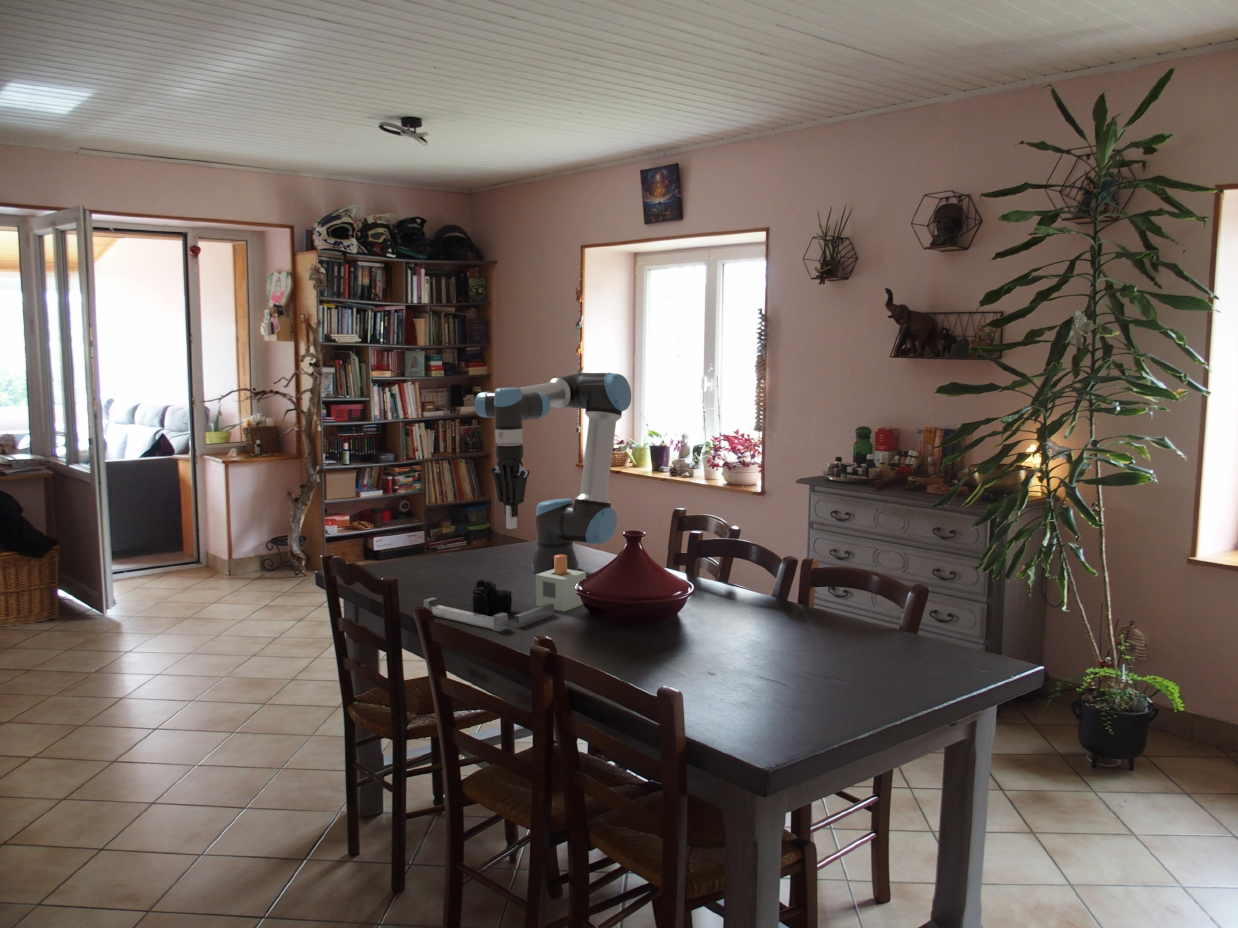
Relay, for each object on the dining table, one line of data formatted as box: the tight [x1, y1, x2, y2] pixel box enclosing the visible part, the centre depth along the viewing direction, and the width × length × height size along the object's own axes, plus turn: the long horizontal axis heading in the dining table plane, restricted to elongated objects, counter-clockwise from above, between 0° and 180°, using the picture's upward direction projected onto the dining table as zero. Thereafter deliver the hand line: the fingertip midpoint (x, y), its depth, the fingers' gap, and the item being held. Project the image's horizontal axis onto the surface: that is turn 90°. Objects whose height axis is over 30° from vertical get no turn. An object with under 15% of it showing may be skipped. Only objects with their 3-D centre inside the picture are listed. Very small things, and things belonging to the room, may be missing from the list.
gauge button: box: [554, 555, 567, 576], centre depth 265 cm, size 4×4×6 cm
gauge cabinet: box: [535, 569, 587, 612], centre depth 266 cm, size 10×10×9 cm
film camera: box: [471, 579, 513, 616], centre depth 259 cm, size 15×10×9 cm, turn 178°
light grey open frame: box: [423, 597, 555, 633], centre depth 257 cm, size 20×30×4 cm, turn 54°
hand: (511, 527), depth 264 cm, fingers closed
